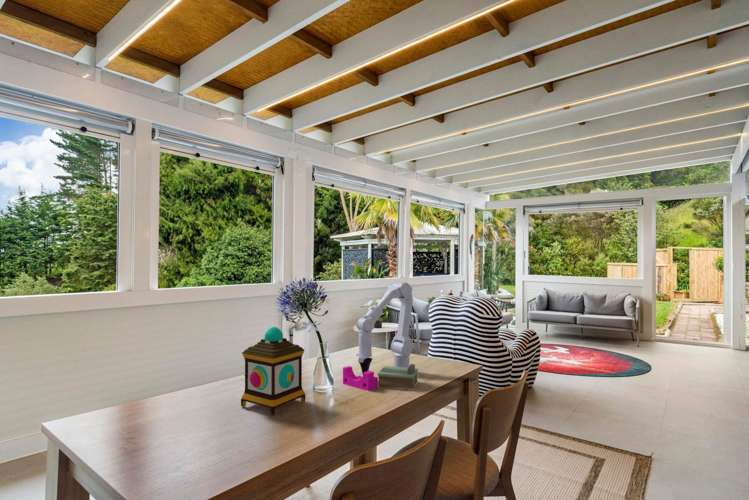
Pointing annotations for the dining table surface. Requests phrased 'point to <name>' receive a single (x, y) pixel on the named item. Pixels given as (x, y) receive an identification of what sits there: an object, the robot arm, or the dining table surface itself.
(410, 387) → the brown wooden tray
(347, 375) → the toy block
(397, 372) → the lid
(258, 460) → the dining table surface
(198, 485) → the dining table surface
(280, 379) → the decorative lantern
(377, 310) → the robot arm
